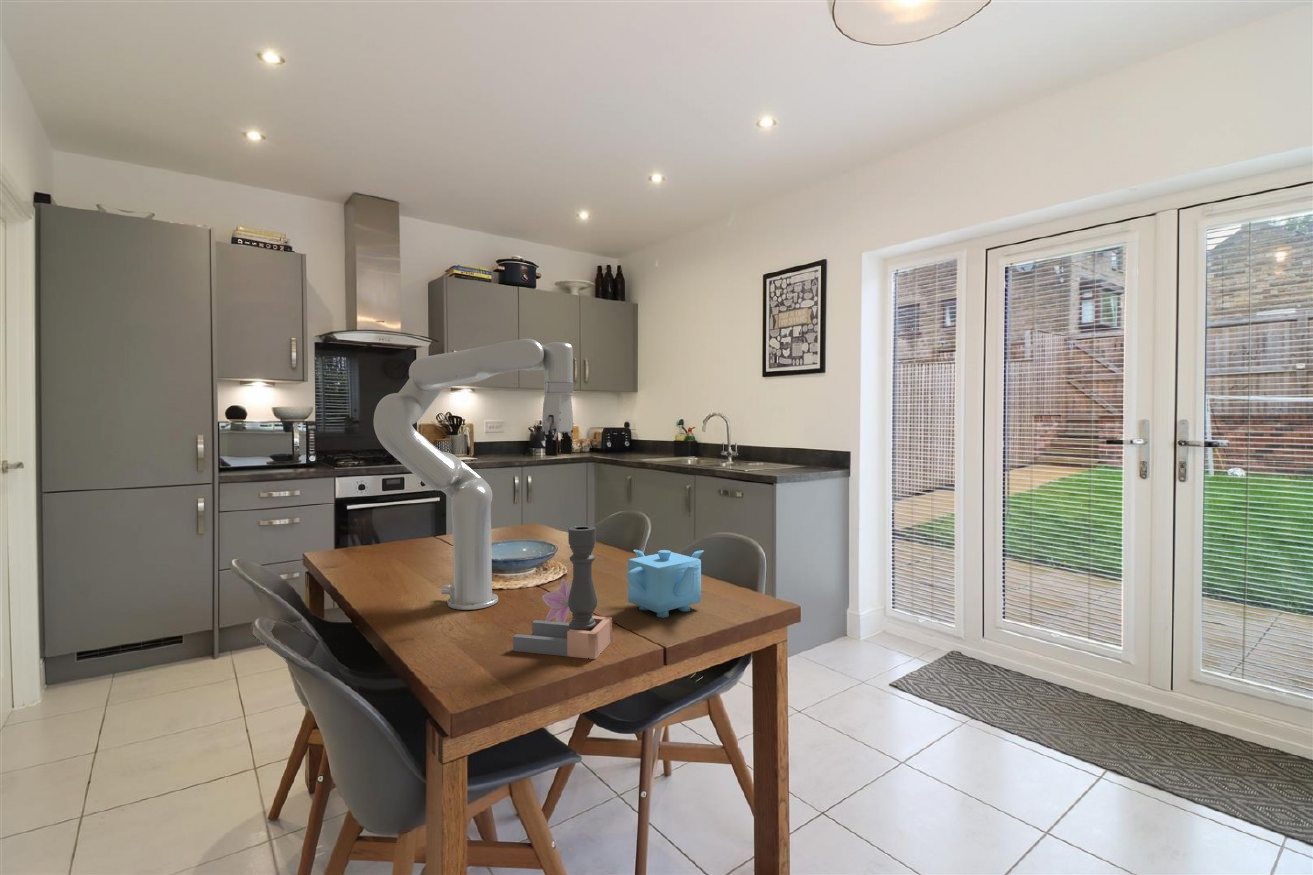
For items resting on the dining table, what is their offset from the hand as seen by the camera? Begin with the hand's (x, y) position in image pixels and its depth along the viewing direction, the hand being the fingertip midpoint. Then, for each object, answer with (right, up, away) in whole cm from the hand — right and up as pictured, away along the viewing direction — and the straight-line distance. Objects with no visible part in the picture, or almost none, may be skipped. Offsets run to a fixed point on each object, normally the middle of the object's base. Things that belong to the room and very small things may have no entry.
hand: (559, 454), depth 162 cm
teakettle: (+29, -39, -8) cm, 49 cm away
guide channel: (+6, -39, -33) cm, 52 cm away
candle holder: (+10, -40, -34) cm, 53 cm away
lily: (+4, -39, -17) cm, 43 cm away
